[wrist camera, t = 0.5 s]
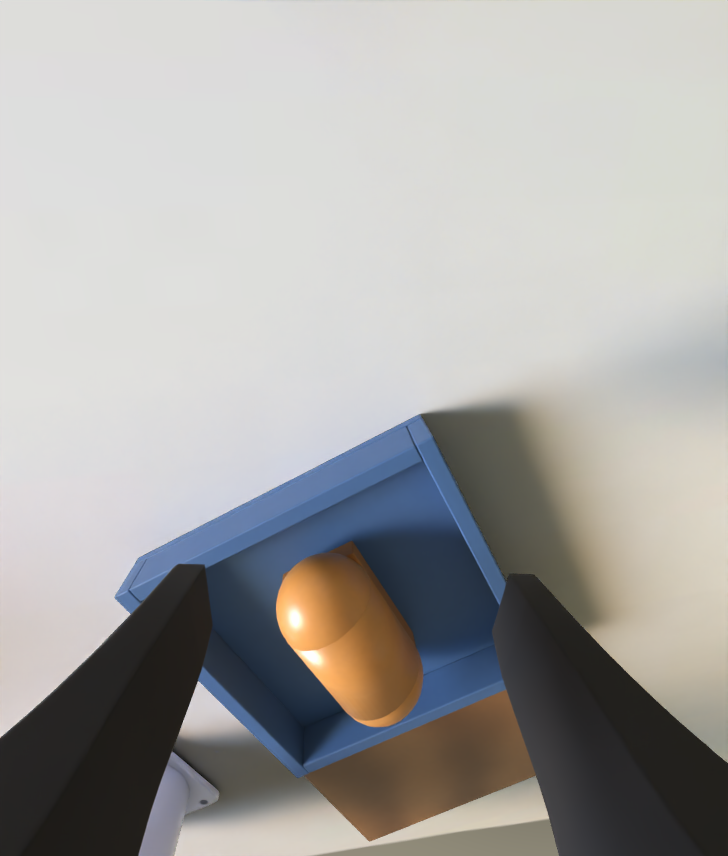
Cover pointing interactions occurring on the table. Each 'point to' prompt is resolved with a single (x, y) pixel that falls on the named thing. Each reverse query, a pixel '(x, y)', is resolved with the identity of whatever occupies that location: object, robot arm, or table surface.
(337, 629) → the bread roll
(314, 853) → the table surface
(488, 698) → the bread board
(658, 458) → the table surface
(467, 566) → the bread tray
